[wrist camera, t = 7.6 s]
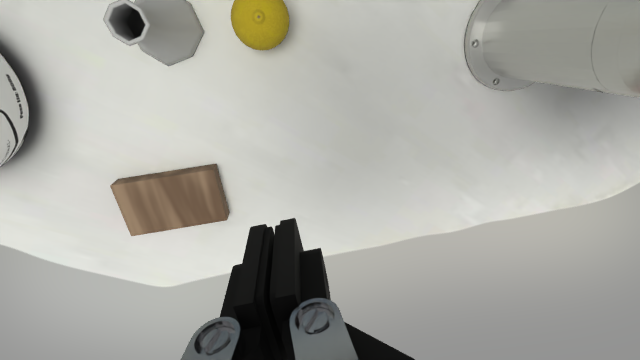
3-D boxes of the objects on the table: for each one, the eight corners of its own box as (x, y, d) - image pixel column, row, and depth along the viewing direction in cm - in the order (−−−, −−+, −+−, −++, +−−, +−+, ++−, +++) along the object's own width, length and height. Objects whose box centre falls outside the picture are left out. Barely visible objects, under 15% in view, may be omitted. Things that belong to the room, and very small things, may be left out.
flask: (216, 33, 35) (195, 30, 26) (169, 78, 37) (133, 89, 27) (163, -29, 33) (118, -56, 24) (114, 21, 34) (53, 13, 25)
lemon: (250, 57, 37) (243, 61, 29) (226, 5, 34) (213, -5, 27) (295, 37, 36) (300, 36, 29) (275, -16, 34) (274, -32, 27)
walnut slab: (213, 169, 39) (110, 185, 38) (227, 220, 42) (131, 236, 41) (216, 162, 41) (119, 177, 41) (229, 210, 44) (138, 226, 43)
